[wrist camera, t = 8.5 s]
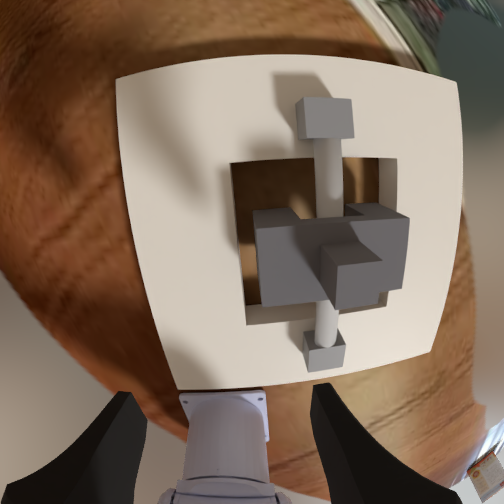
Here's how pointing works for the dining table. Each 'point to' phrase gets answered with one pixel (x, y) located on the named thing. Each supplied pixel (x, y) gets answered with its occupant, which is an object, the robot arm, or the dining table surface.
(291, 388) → the dining table surface
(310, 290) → the grey notched block
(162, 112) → the white slotted board
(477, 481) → the cracker box
